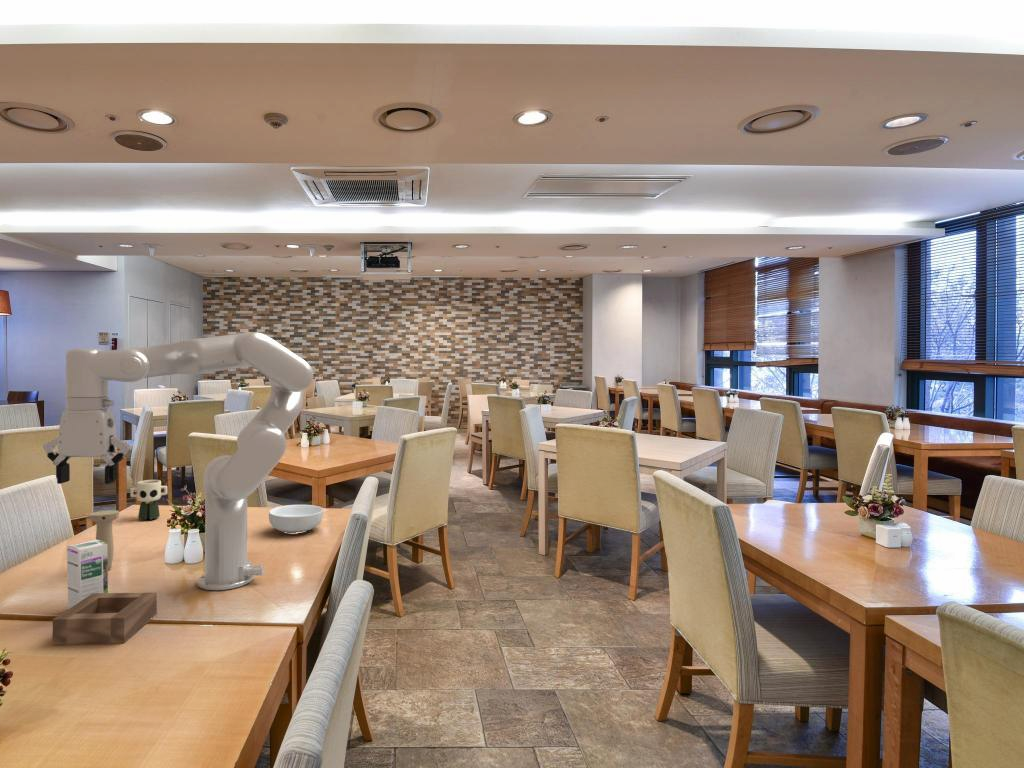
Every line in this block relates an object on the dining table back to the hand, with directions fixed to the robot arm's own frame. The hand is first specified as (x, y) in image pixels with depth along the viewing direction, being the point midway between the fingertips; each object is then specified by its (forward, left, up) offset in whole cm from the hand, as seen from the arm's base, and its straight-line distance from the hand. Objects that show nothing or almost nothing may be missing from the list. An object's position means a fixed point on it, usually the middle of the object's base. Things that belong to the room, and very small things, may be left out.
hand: (87, 482), depth 131 cm
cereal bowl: (-30, -60, -28) cm, 73 cm away
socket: (-10, +11, -28) cm, 32 cm away
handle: (+10, -25, -28) cm, 39 cm away
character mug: (+23, -76, -28) cm, 84 cm away
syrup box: (0, 0, -28) cm, 28 cm away
